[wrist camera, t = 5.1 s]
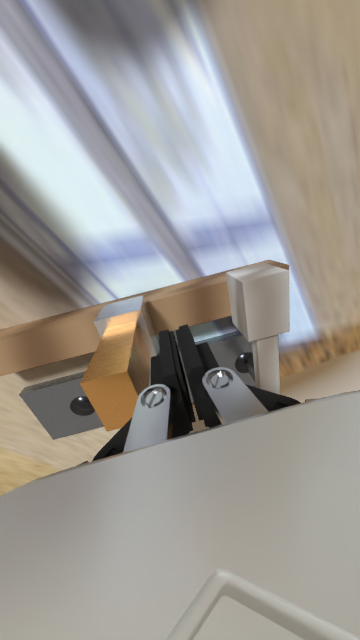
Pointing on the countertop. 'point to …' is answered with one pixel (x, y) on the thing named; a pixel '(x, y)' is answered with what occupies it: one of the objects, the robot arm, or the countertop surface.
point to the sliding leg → (120, 361)
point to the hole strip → (77, 411)
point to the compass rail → (172, 320)
